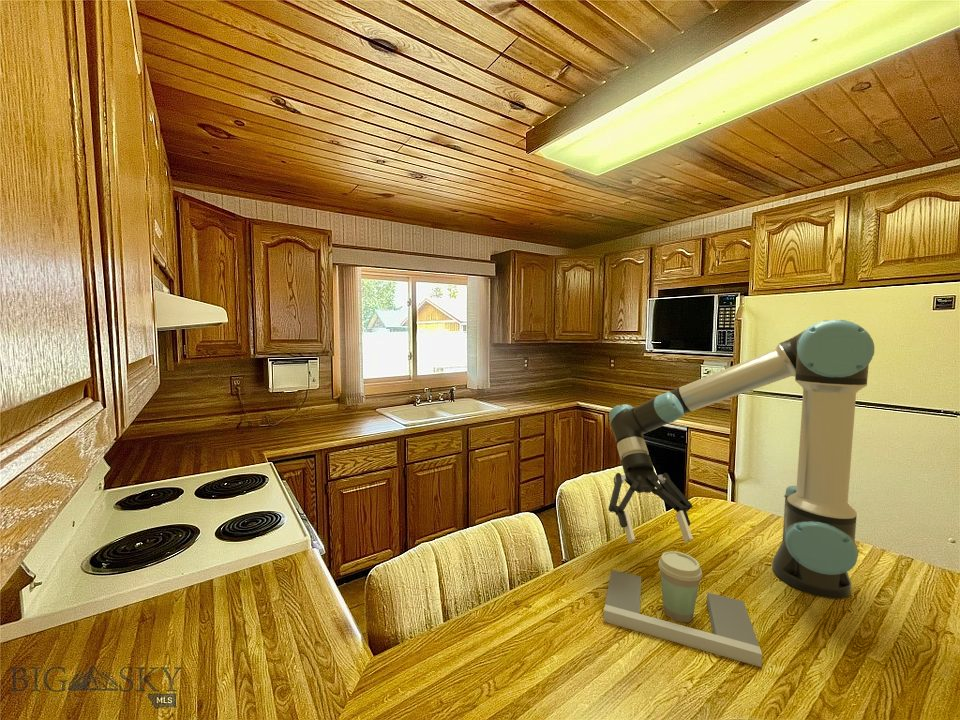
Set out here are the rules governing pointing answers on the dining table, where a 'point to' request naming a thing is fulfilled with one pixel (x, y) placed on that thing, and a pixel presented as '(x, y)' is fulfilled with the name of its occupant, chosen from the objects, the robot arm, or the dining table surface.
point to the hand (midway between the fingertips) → (660, 541)
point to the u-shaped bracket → (726, 619)
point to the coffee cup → (679, 584)
